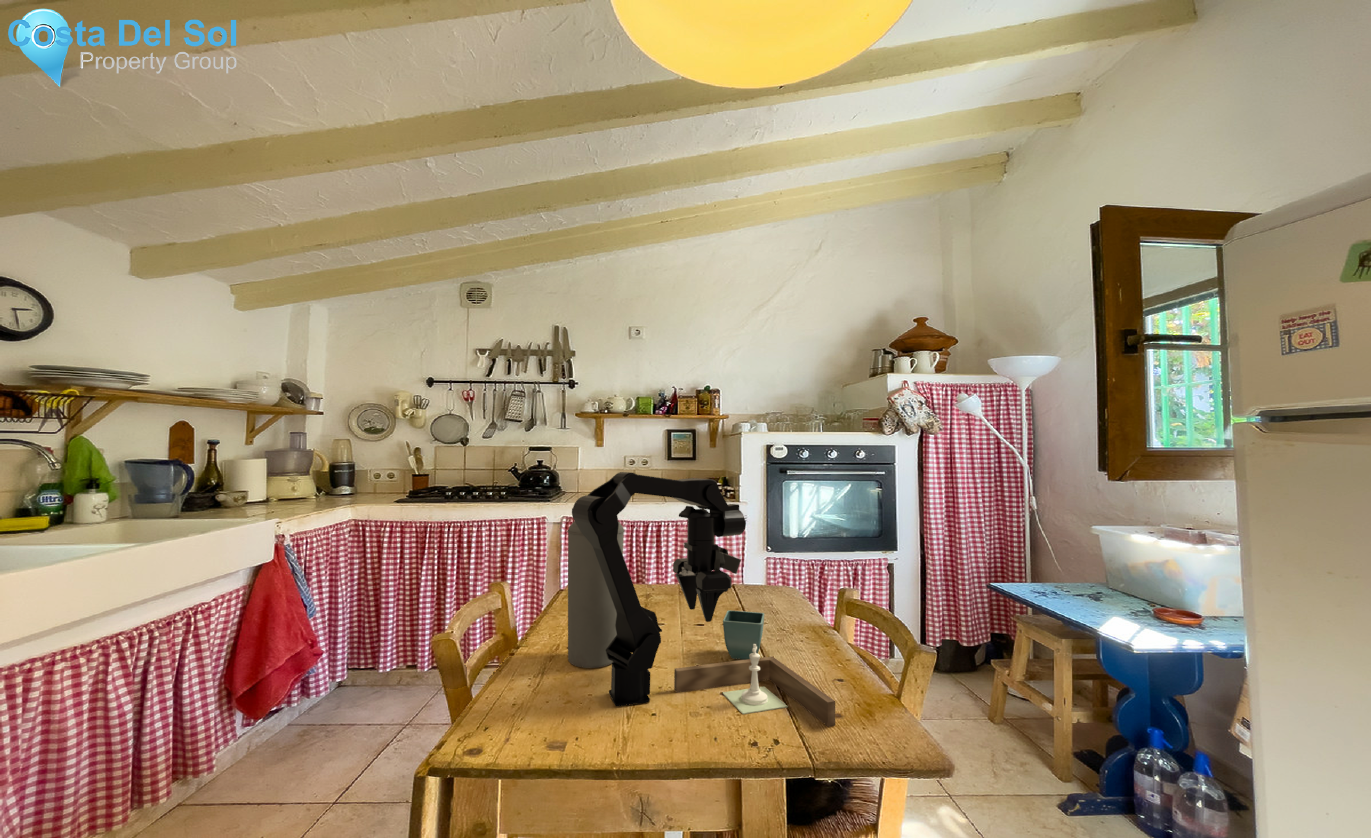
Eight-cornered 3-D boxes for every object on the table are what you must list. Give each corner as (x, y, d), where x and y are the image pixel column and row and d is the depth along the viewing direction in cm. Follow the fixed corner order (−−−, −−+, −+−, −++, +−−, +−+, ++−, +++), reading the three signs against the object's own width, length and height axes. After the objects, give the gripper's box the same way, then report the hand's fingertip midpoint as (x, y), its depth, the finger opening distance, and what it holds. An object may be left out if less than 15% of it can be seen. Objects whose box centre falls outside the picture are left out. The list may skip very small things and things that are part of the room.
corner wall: (718, 746, 86) (719, 719, 86) (674, 689, 106) (674, 668, 107) (835, 725, 93) (835, 701, 93) (772, 676, 114) (772, 656, 114)
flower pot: (762, 665, 119) (762, 623, 120) (722, 662, 121) (722, 620, 122) (764, 651, 128) (764, 612, 129) (727, 648, 130) (727, 609, 130)
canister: (553, 658, 122) (557, 500, 124) (601, 646, 130) (605, 497, 133) (582, 676, 112) (587, 504, 115) (633, 661, 121) (636, 501, 123)
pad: (742, 714, 97) (742, 713, 97) (722, 693, 105) (722, 692, 105) (787, 707, 100) (787, 706, 100) (764, 687, 108) (764, 686, 108)
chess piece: (737, 702, 101) (738, 646, 102) (745, 691, 105) (746, 638, 106) (763, 707, 99) (764, 650, 100) (770, 696, 103) (770, 642, 104)
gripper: (755, 544, 108) (755, 624, 107) (718, 531, 126) (718, 600, 125) (703, 546, 105) (702, 630, 104) (672, 533, 122) (671, 604, 121)
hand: (700, 615), depth 113 cm, fingers open, 9 cm apart
